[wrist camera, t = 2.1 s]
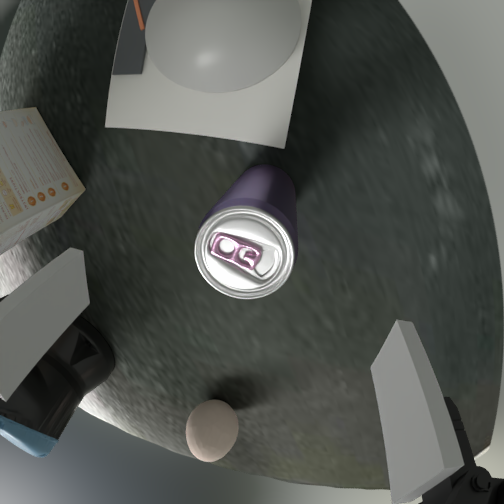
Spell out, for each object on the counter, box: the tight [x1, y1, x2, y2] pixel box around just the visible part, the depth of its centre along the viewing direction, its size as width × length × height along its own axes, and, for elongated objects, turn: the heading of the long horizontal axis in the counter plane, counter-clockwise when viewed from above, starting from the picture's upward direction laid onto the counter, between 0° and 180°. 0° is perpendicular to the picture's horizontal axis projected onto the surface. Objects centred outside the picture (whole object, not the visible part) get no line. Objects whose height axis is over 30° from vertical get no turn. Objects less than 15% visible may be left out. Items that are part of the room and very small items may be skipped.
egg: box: [186, 399, 239, 462], centre depth 40 cm, size 8×8×11 cm
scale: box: [105, 0, 312, 149], centre depth 22 cm, size 18×22×4 cm
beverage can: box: [194, 164, 298, 299], centre depth 23 cm, size 6×6×15 cm
